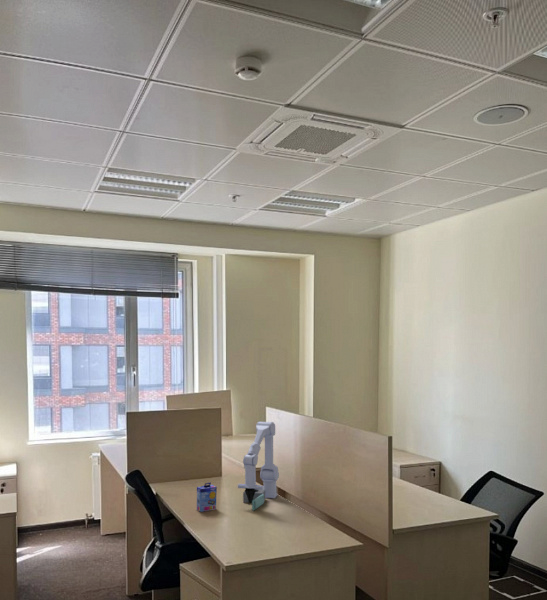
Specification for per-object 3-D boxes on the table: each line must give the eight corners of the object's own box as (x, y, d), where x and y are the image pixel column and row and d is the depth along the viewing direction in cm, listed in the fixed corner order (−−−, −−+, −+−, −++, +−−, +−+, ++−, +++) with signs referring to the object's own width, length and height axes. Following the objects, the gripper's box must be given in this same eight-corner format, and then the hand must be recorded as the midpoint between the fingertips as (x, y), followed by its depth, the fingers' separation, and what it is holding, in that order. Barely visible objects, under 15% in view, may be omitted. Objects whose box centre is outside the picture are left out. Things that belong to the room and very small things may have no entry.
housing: (246, 498, 338) (246, 487, 338) (265, 499, 336) (265, 488, 336) (243, 502, 330) (243, 491, 330) (262, 503, 328) (262, 492, 328)
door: (252, 510, 313) (252, 500, 313) (263, 502, 328) (263, 493, 328) (254, 510, 313) (254, 501, 313) (265, 503, 327) (265, 493, 328)
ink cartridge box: (200, 512, 312) (200, 484, 313) (195, 509, 316) (196, 482, 317) (217, 509, 317) (217, 482, 318) (212, 507, 321) (212, 480, 322)
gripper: (235, 477, 319) (235, 503, 318) (259, 479, 314) (260, 505, 313) (240, 474, 326) (240, 499, 325) (264, 476, 321) (265, 502, 320)
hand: (250, 502), depth 319 cm, fingers closed
